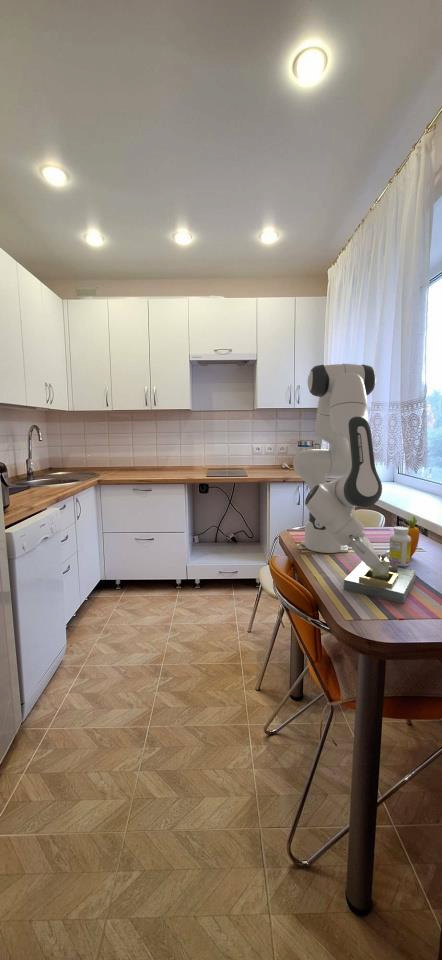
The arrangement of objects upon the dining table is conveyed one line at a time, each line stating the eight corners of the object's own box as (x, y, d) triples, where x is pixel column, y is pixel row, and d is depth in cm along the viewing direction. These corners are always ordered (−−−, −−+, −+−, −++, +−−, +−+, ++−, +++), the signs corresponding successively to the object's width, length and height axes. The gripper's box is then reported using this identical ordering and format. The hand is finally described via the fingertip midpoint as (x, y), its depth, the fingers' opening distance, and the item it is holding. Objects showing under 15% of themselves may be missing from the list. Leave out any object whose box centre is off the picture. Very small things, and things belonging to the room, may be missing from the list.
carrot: (409, 559, 137) (412, 519, 135) (399, 555, 142) (402, 516, 140) (420, 558, 139) (423, 518, 137) (410, 554, 143) (413, 515, 141)
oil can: (369, 584, 116) (371, 547, 114) (387, 586, 115) (389, 548, 113) (371, 590, 111) (373, 551, 110) (390, 592, 110) (393, 553, 109)
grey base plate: (364, 567, 130) (365, 554, 129) (416, 577, 121) (417, 564, 120) (343, 589, 112) (344, 574, 111) (403, 603, 103) (404, 588, 102)
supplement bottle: (405, 560, 136) (407, 525, 135) (412, 567, 130) (415, 530, 128) (385, 560, 137) (388, 525, 135) (392, 566, 131) (394, 530, 129)
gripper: (361, 534, 102) (398, 572, 101) (352, 516, 122) (383, 548, 121) (343, 549, 103) (379, 586, 103) (337, 529, 123) (367, 561, 122)
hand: (381, 565), depth 112 cm, fingers open, 8 cm apart
